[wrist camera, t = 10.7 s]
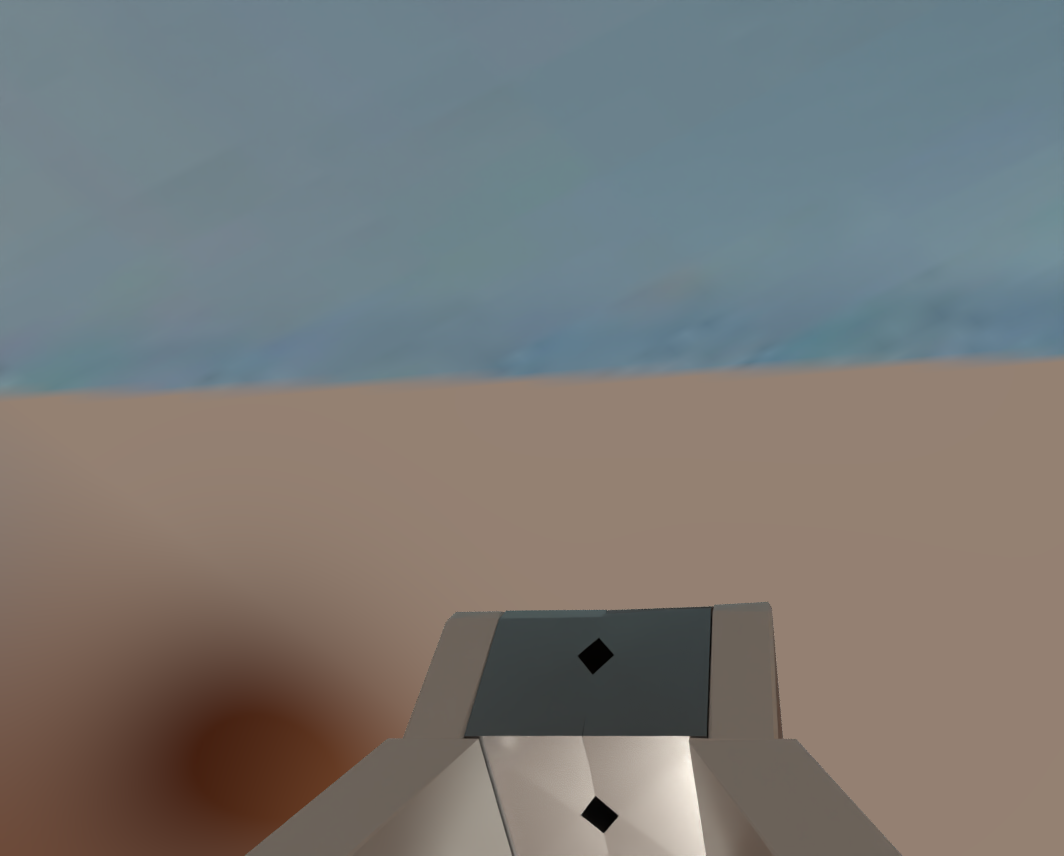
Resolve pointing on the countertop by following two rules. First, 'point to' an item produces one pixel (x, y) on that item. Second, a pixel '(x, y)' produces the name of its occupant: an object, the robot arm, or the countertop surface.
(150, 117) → the countertop surface
